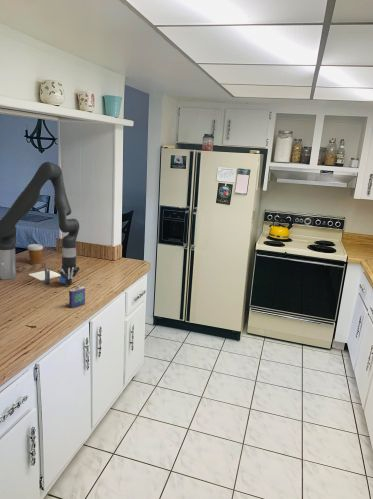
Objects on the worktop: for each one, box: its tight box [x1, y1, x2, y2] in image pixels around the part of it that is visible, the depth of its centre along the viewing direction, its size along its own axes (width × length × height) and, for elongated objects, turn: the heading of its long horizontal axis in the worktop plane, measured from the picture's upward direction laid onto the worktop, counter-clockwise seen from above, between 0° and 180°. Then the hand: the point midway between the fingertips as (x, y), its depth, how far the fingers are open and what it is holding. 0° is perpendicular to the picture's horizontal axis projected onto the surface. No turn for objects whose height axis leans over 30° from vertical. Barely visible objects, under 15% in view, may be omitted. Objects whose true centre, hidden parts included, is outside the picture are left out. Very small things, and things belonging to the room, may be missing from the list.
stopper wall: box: [17, 262, 48, 273], centre depth 240 cm, size 18×2×2 cm, turn 141°
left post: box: [44, 267, 51, 286], centre depth 217 cm, size 3×3×9 cm
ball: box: [59, 272, 67, 285], centre depth 220 cm, size 6×6×6 cm
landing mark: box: [28, 270, 61, 281], centre depth 232 cm, size 14×14×1 cm
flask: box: [68, 284, 86, 309], centre depth 191 cm, size 9×3×11 cm, turn 144°
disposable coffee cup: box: [27, 243, 44, 265], centre depth 251 cm, size 10×10×12 cm
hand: (68, 284), depth 216 cm, fingers closed
